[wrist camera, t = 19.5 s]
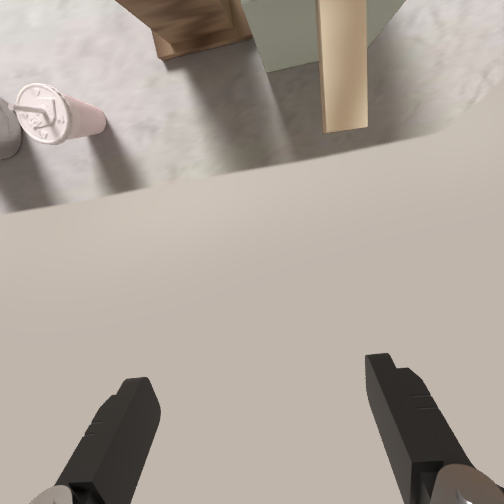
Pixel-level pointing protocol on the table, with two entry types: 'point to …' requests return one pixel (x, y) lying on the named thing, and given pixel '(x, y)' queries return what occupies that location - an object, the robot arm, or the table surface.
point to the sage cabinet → (301, 28)
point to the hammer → (342, 63)
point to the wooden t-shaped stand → (190, 24)
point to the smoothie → (55, 115)
